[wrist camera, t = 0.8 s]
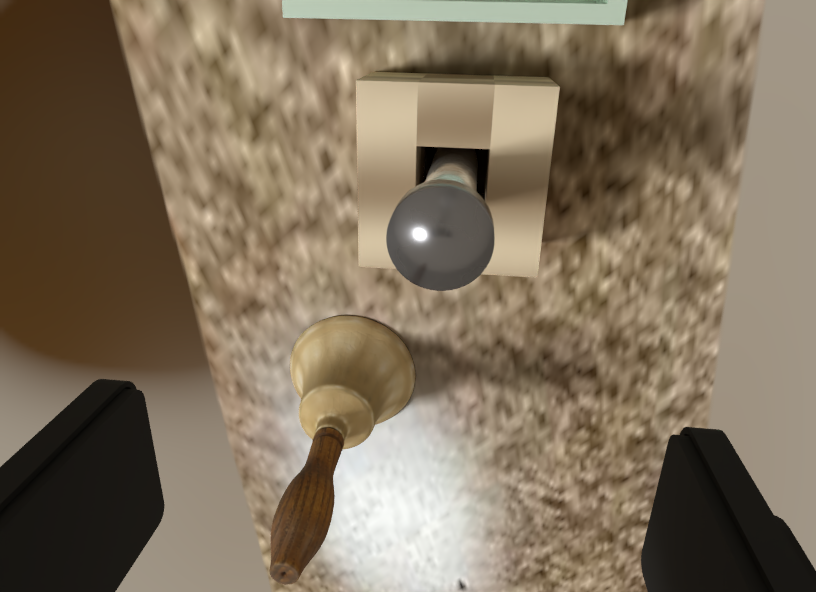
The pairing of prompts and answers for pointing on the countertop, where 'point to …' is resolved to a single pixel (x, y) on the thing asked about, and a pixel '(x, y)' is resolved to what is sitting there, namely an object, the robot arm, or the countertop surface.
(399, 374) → the hand bell
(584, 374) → the countertop surface
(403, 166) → the hitch block
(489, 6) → the tray
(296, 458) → the countertop surface
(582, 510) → the countertop surface
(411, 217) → the steel pin
